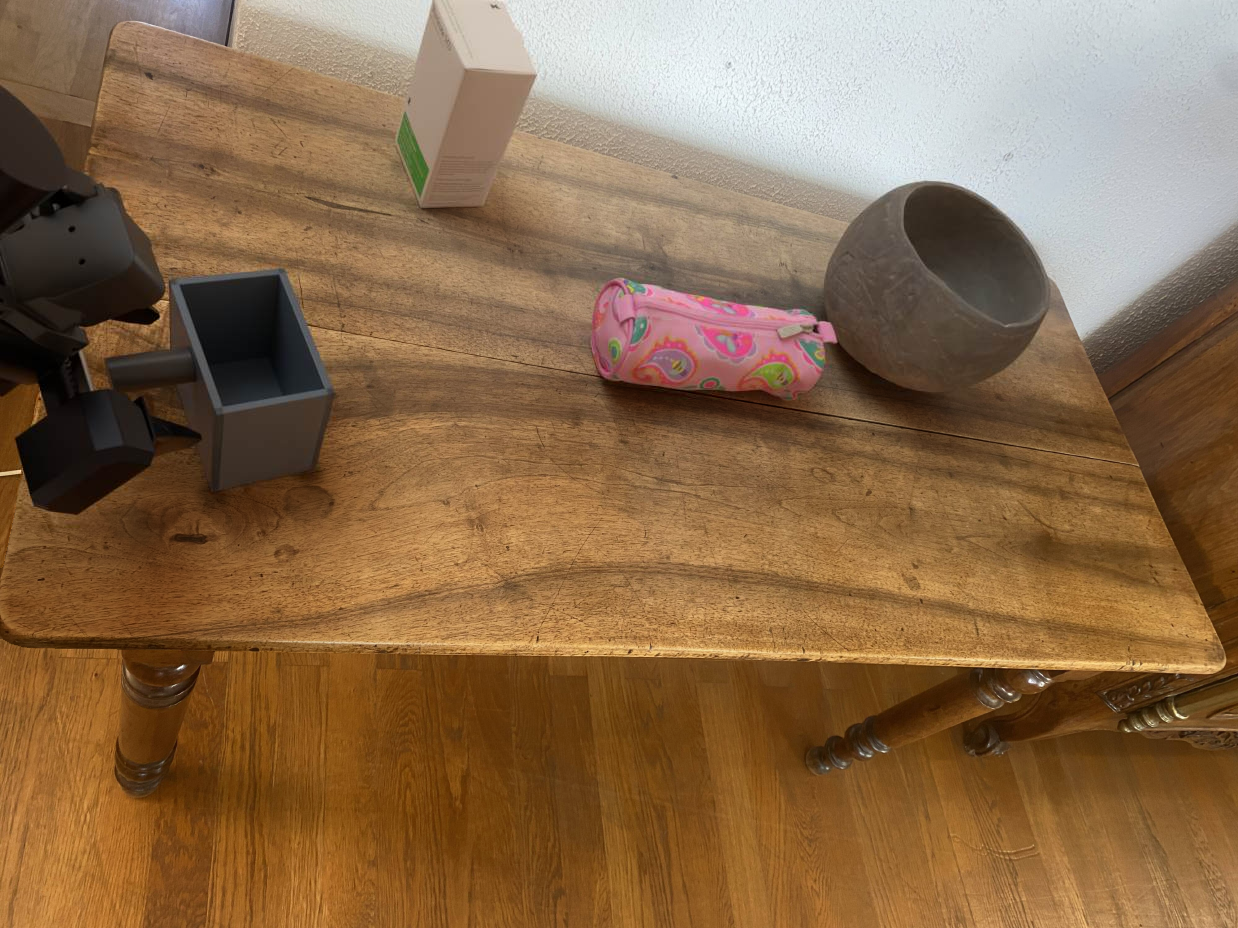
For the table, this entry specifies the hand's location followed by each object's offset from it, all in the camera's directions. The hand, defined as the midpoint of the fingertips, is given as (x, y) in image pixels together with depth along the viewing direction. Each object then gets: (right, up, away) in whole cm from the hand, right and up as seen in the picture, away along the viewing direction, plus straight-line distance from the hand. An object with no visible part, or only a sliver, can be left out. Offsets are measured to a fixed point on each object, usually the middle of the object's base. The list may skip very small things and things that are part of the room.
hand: (175, 378), depth 54 cm
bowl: (+55, +8, +40) cm, 69 cm away
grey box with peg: (-1, -3, +6) cm, 7 cm away
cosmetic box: (+11, +21, +27) cm, 36 cm away
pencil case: (+34, +3, +27) cm, 44 cm away
